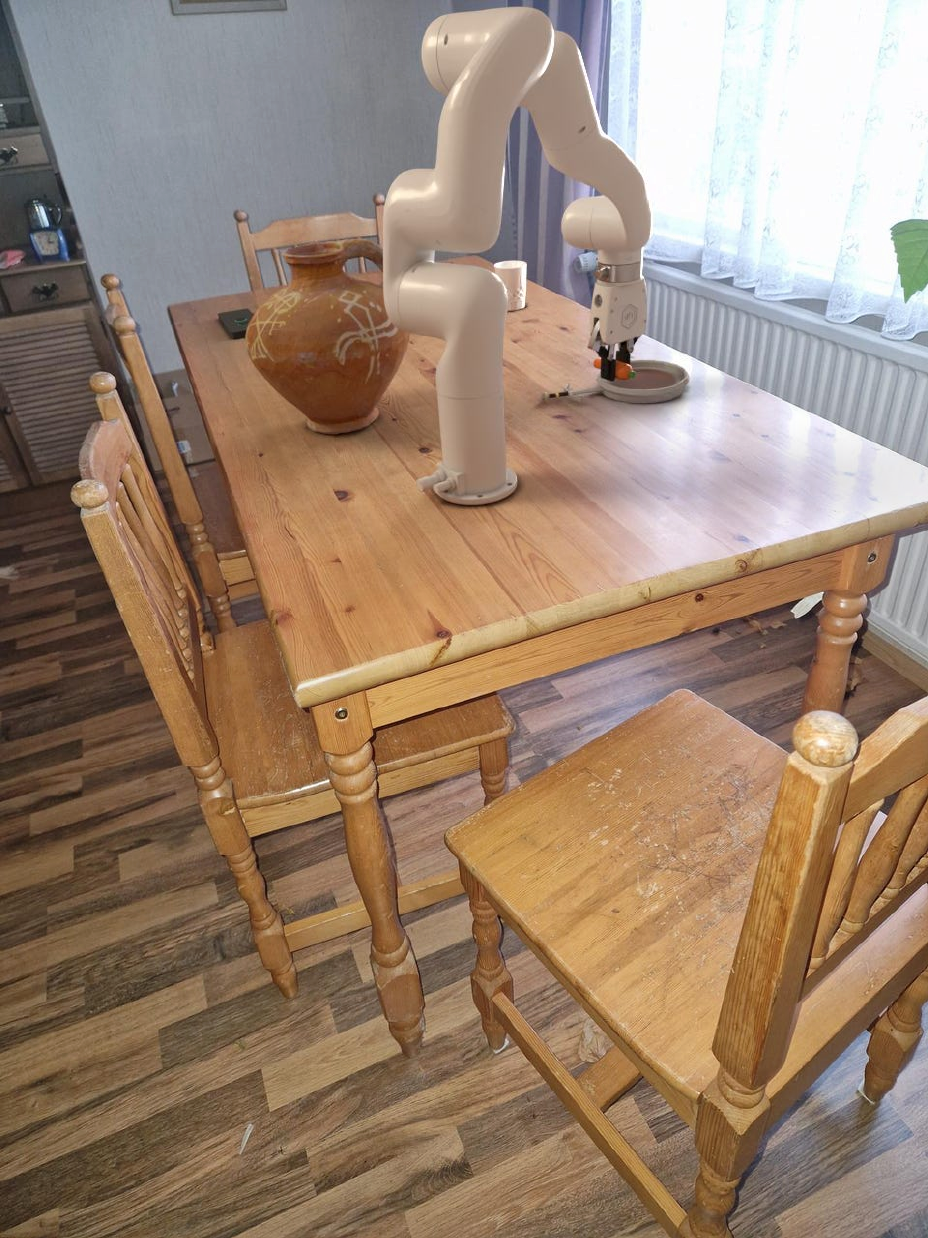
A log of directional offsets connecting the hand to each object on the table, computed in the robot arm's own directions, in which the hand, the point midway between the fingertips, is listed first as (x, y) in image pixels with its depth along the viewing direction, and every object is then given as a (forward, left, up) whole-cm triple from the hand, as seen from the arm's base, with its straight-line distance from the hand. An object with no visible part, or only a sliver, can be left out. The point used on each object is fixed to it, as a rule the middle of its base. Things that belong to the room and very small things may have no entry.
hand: (615, 375), depth 149 cm
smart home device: (-32, +99, -3) cm, 104 cm away
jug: (-44, +25, -3) cm, 51 cm away
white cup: (+23, +59, -3) cm, 63 cm away
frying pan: (0, 0, -3) cm, 3 cm away
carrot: (0, 0, 0) cm, 1 cm away
